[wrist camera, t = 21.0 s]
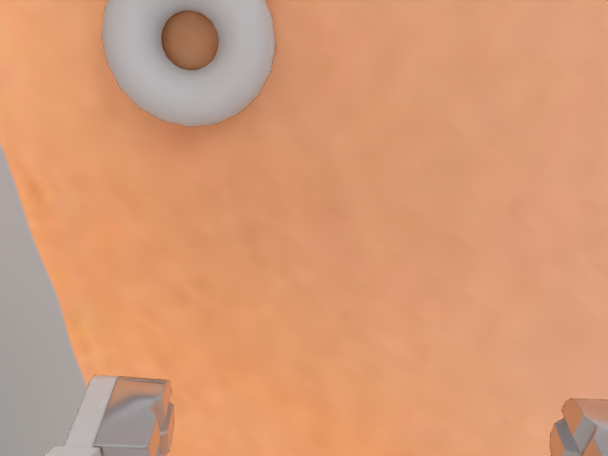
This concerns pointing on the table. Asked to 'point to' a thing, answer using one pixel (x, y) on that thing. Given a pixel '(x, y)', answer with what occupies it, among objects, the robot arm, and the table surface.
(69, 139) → the table surface
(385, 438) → the table surface
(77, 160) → the table surface
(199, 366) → the table surface
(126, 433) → the robot arm
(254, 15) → the donut
